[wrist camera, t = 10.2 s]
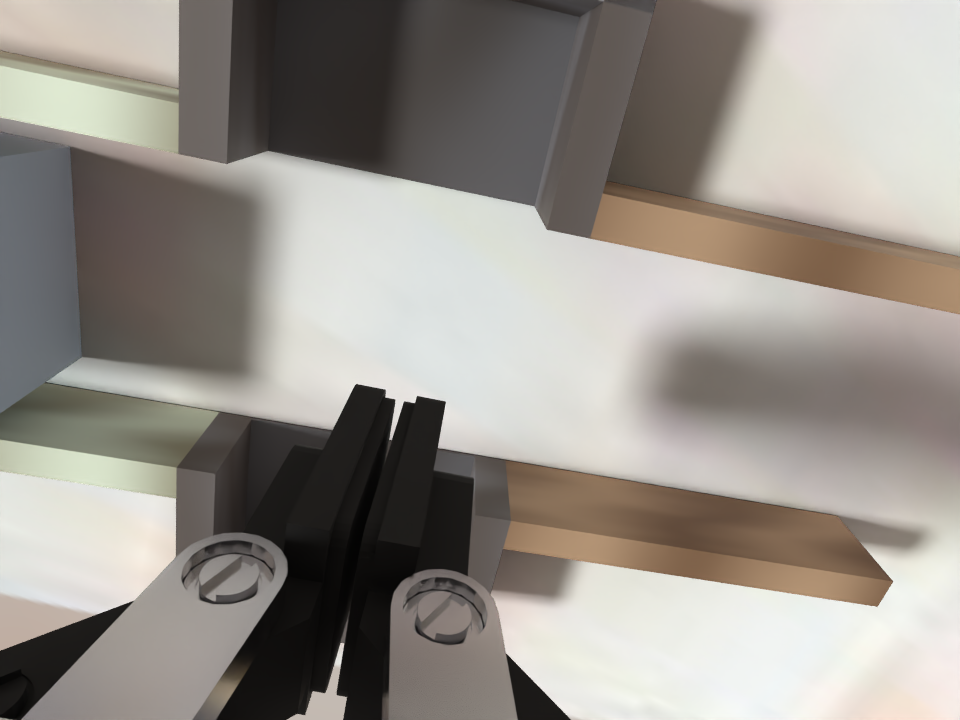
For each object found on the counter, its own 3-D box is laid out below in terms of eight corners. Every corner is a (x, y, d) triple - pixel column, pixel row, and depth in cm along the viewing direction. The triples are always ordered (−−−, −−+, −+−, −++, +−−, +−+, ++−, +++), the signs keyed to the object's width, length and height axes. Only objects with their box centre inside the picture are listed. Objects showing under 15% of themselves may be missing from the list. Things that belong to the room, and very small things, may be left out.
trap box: (1071, 88, 15) (1323, 88, 11) (773, 632, 23) (848, 769, 18) (-394, -275, 12) (-905, -488, 8) (-180, 492, 20) (-374, 614, 15)
